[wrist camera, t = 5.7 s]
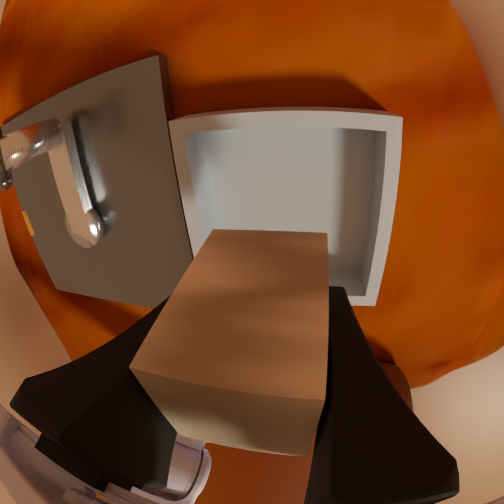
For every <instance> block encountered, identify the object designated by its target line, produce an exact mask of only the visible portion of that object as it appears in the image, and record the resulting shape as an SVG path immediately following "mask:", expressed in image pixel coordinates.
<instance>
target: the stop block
mask: <svg viewBox="0 0 504 504" xmlns="http://www.w3.org/2000/svg"><path fill="white" fill-rule="evenodd" d="M328 329H329V267H328V236H327V233H321V232H296V231H266V230H230V229H213V230H212V231H211V233H210V235H209V236H208V238H207V239H206V241H205V242H204V244H203V245H202V247H201V248H200V250H199V251H198V253H197V255H196V256H195V258H194V259H193V261H192V262H191V264H190V266H189V267H188V269H187V270H186V272H185V274H184V275H183V277H182V278H181V280H180V282H179V283H178V285H177V286H176V288H175V290H174V291H173V293H172V294H171V296H170V298H169V299H168V301H167V303H166V304H165V306H164V308H163V309H162V311H161V313H160V314H159V316H158V318H157V319H156V321H155V323H154V324H153V326H152V328H151V329H150V331H149V333H148V335H147V336H146V338H145V340H144V341H143V343H142V345H141V347H140V348H139V350H138V352H137V354H136V355H135V357H134V359H133V361H132V362H131V364H130V366H129V368H130V369H131V371H132V372H133V374H134V375H135V377H136V378H137V380H138V381H139V383H140V384H141V385H142V387H143V388H144V390H145V391H146V392H147V394H148V395H149V396H150V398H151V399H152V401H153V402H154V403H155V405H156V406H157V407H158V408H159V410H160V411H161V412H162V414H163V415H164V416H165V417H166V419H167V420H168V421H169V422H170V424H171V425H172V426H173V427H174V429H175V430H176V431H177V432H178V433H179V434H180V435H182V436H186V437H190V438H194V439H198V440H202V441H206V442H210V443H215V444H219V445H224V446H229V447H235V448H240V449H247V450H252V451H259V452H266V453H274V454H283V455H294V456H308V453H309V450H310V447H311V444H312V441H313V438H314V435H315V432H316V429H317V426H318V422H319V419H320V416H321V412H322V409H323V406H324V402H325V395H326V379H327V360H328Z"/></svg>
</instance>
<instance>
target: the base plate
mask: <svg viewBox="0 0 504 504" xmlns="http://www.w3.org/2000/svg"><path fill="white" fill-rule="evenodd" d="M52 117H54V118H57V119H58V120H59V121H60V123H62V122H65V121H68V120H71V122H72V128H73V133H74V138H75V143H76V147H77V152H78V156H79V160H80V164H81V168H82V172H83V176H84V180H85V184H86V187H87V191H88V194H89V198H90V201H91V204H92V208H94V209H95V210H96V212H97V213H98V214H99V216H100V218H101V220H102V223H103V227H104V233H103V236H102V238H101V239H100V240H99V241H98V242H97V243H96V244H95V245H94V246H93V247H91V248H85V247H82V246H80V245H78V244H77V243H76V242H75V241H74V240H73V239H72V238H71V236H70V234H69V233H68V231H67V228H66V224H65V216H66V213H65V210H64V207H63V204H62V201H61V198H60V194H59V191H58V188H57V184H56V181H55V177H54V174H53V170H52V166H51V162H50V158H49V154H48V152H46V153H44V154H42V155H40V156H38V157H36V158H34V159H32V160H30V161H28V162H26V163H24V164H22V165H20V166H18V167H17V168H15V169H13V170H11V173H12V177H13V184H14V187H15V190H16V194H17V197H18V200H19V203H20V206H21V209H22V214H23V216H24V219H25V222H26V224H27V227H28V230H29V232H30V235H31V236H32V238H33V240H34V242H35V245H36V247H37V249H38V252H39V254H40V256H41V258H42V261H43V263H44V265H45V267H46V269H47V271H48V273H49V275H50V277H51V279H52V281H53V283H54V285H55V287H56V289H57V290H62V291H66V292H71V293H75V294H80V295H85V296H90V297H95V298H100V299H105V300H110V301H116V302H121V303H127V304H133V305H139V306H145V307H151V308H156V307H157V306H158V305H159V304H160V303H162V302H163V301H164V300H165V299H166V298H168V297H169V296H170V295H171V294H172V293H173V291H174V290H175V288H176V286H177V285H178V283H179V282H180V280H181V278H182V277H183V275H184V274H185V272H186V270H187V269H188V267H189V266H190V264H191V262H192V261H193V259H194V256H193V251H192V247H191V242H190V238H189V233H188V228H187V223H186V218H185V214H184V209H183V203H182V198H181V193H180V188H179V182H178V177H177V171H176V166H175V160H174V154H173V148H172V142H171V135H170V129H169V122H168V121H171V120H174V115H173V108H172V101H171V93H170V85H169V76H168V68H167V58H166V56H165V55H156V56H153V57H149V58H146V59H143V60H139V61H136V62H133V63H130V64H127V65H124V66H121V67H119V68H116V69H113V70H111V71H108V72H105V73H103V74H100V75H98V76H95V77H93V78H90V79H88V80H86V81H84V82H81V83H79V84H77V85H75V86H73V87H70V88H68V89H66V90H64V91H62V92H60V93H58V94H56V95H54V96H52V97H50V98H48V99H47V100H45V101H43V102H41V103H39V104H38V105H36V106H34V107H32V108H31V109H29V110H27V111H26V112H24V113H22V114H21V115H19V116H17V117H16V118H14V119H13V120H11V121H10V122H8V123H7V124H5V125H4V126H2V127H1V130H2V135H3V136H4V135H7V134H9V133H11V132H14V131H16V130H19V129H21V128H24V127H26V126H29V125H32V124H34V123H37V122H40V121H43V120H46V119H49V118H52Z"/></svg>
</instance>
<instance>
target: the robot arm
mask: <svg viewBox="0 0 504 504" xmlns="http://www.w3.org/2000/svg"><path fill="white" fill-rule="evenodd" d="M170 296H171V295H170ZM170 296H169V297H168V298H166V299H165V300H164V301H163V302H162V303H160V304H159V305H158V306H157V307H156V308H154V309H153V310H152V311H151V312H149V313H148V314H147V315H146V316H144V317H143V318H142V319H140V320H139V321H138V322H136V323H135V324H134V325H133V326H131V327H130V328H129V329H127V330H126V331H124V332H123V333H121V334H120V335H118V336H117V337H115V338H114V339H112V340H111V341H109V342H108V343H106V344H104V345H103V346H101V347H99V348H97V349H96V350H94V351H92V352H90V353H88V354H86V355H84V356H82V357H81V358H79V359H77V360H74V361H72V362H70V363H68V364H66V365H63V366H61V367H58V368H56V369H54V370H51V371H48V372H44V373H42V374H38V375H35V376H32V377H28V378H26V379H25V380H24V381H23V383H22V384H21V386H20V387H19V389H18V391H17V392H16V394H15V396H14V397H13V399H12V401H11V402H10V407H11V408H12V409H13V410H15V411H16V412H17V413H18V414H19V415H20V416H21V417H23V418H24V419H25V420H26V421H27V422H29V423H30V424H31V425H32V426H34V427H35V428H36V429H38V430H39V431H40V432H42V434H41V435H40V437H39V436H38V435H36V434H35V433H34V432H33V431H31V430H30V429H29V428H28V427H26V426H25V425H24V424H22V423H21V422H20V421H18V420H17V419H16V418H15V417H14V416H13V415H12V414H10V413H9V412H8V411H7V410H6V409H5V408H4V407H3V406H2V405H1V404H0V480H1V482H2V483H3V485H4V486H5V488H6V489H7V491H8V492H9V494H10V495H11V497H12V498H13V500H14V501H15V502H16V504H112V503H109V502H107V501H104V500H102V499H100V498H97V497H96V493H98V494H100V495H102V496H103V497H105V498H107V499H109V500H111V501H113V504H194V502H195V500H196V498H197V496H198V495H199V494H200V493H201V491H202V489H203V488H204V486H205V484H206V481H207V479H208V476H209V472H210V468H211V457H210V455H209V452H208V450H206V449H203V447H204V444H205V442H206V441H202V440H198V439H194V438H190V437H186V436H182V435H180V434H179V433H178V432H177V431H176V430H175V429H174V427H173V426H172V425H171V424H170V422H169V421H168V420H167V419H166V417H165V416H164V415H163V414H162V412H161V411H160V410H159V408H158V407H157V406H156V405H155V403H154V402H153V401H152V399H151V398H150V396H149V395H148V394H147V392H146V391H145V390H144V388H143V387H142V385H141V384H140V383H139V381H138V380H137V378H136V377H135V375H134V374H133V372H132V371H131V369H130V368H129V366H130V364H131V362H132V361H133V359H134V357H135V355H136V354H137V352H138V350H139V348H140V347H141V345H142V343H143V341H144V340H145V338H146V336H147V335H148V333H149V331H150V329H151V328H152V326H153V324H154V323H155V321H156V319H157V318H158V316H159V314H160V313H161V311H162V309H163V308H164V306H165V304H166V303H167V301H168V299H169V298H170ZM160 490H163V491H165V492H163V491H160ZM95 492H96V493H95ZM458 492H459V472H458V467H457V462H456V459H455V458H454V457H453V456H452V455H451V454H450V453H449V452H448V451H447V450H446V449H445V448H444V447H443V446H442V445H441V444H440V443H439V442H438V441H437V440H436V439H435V438H434V437H433V435H432V434H431V433H430V432H429V431H428V430H427V429H426V427H425V426H424V425H423V424H422V423H421V422H420V420H419V419H418V418H417V416H416V415H415V414H414V413H413V411H412V410H411V409H410V407H409V406H408V405H407V404H406V402H405V401H404V400H403V398H402V397H401V396H400V394H399V393H398V391H397V390H396V388H395V387H394V385H393V384H392V382H391V381H390V379H389V378H388V376H387V375H386V373H385V371H384V370H383V368H382V367H381V365H380V363H379V361H378V360H377V358H376V356H375V354H374V352H373V351H372V349H371V347H370V345H369V343H368V341H367V339H366V337H365V335H364V333H363V331H362V329H361V327H360V325H359V323H358V321H357V319H356V316H355V314H354V312H353V309H352V307H351V304H350V302H349V299H348V296H347V293H346V290H345V289H344V287H341V286H329V329H328V360H327V379H326V395H325V402H324V406H323V409H322V412H321V416H320V419H319V422H318V426H317V430H316V438H315V445H314V452H313V458H312V465H311V471H310V476H309V481H308V486H307V491H306V496H305V501H304V504H434V503H437V502H440V501H443V500H446V499H448V498H451V497H453V496H455V495H456V494H458ZM485 504H504V496H503V497H500V498H498V499H496V500H494V501H491V502H489V503H485Z"/></svg>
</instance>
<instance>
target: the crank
mask: <svg viewBox="0 0 504 504" xmlns="http://www.w3.org/2000/svg"><path fill="white" fill-rule="evenodd" d="M46 152H48V154H49V158H50V162H51V166H52V170H53V174H54V177H55V181H56V184H57V188H58V191H59V194H60V198H61V201H62V204H63V207H64V210H65V213H66V216H65V224H66V228H67V231H68V233H69V234H70V236H71V238H72V239H73V240H74V241H75V242H76V243H77V244H78V245H80V246H82V247H85V248H91V247H93V246H94V245H95V244H96V243H97V242H98V241H99V240H100V239H101V238H102V236H103V233H104V227H103V223H102V220H101V218H100V216H99V214H98V213H97V212H96V210H95V209H94V208H92V204H91V201H90V198H89V194H88V191H87V187H86V184H85V180H84V176H83V172H82V168H81V164H80V160H79V156H78V152H77V147H76V143H75V138H74V133H73V128H72V122H71V120H68V121H65V122H62V123H60V121H59V120H58V119H57V118H54V117H52V118H49V119H46V120H43V121H40V122H37V123H34V124H32V125H29V126H26V127H24V128H21V129H19V130H16V131H14V132H11V133H9V134H7V135H4V136H3V135H2V130H1V127H0V189H1V190H7V189H9V188H10V187H11V185H12V183H13V177H12V173H11V170H13V169H15V168H17V167H18V166H20V165H22V164H24V163H26V162H28V161H30V160H32V159H34V158H36V157H38V156H40V155H42V154H44V153H46Z"/></svg>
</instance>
